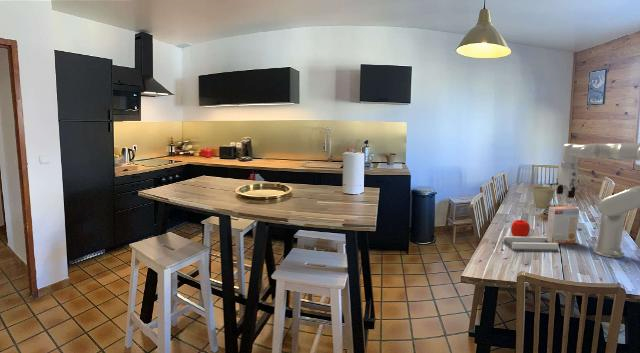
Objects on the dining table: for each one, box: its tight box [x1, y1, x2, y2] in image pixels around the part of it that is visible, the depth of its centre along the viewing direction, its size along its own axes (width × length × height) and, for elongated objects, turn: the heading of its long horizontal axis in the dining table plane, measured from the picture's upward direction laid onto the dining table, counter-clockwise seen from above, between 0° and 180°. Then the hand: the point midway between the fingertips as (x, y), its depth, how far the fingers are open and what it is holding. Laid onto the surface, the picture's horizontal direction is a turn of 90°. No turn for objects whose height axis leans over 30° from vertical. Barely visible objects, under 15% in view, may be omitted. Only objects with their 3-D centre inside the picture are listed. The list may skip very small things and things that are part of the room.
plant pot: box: [532, 185, 556, 209], centre depth 286 cm, size 15×15×16 cm
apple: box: [510, 219, 531, 237], centre depth 209 cm, size 10×10×12 cm
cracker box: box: [545, 206, 580, 245], centre depth 204 cm, size 14×6×21 cm, turn 92°
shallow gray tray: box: [502, 235, 559, 252], centre depth 198 cm, size 12×24×4 cm, turn 89°
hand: (565, 195), depth 202 cm, fingers open, 9 cm apart
